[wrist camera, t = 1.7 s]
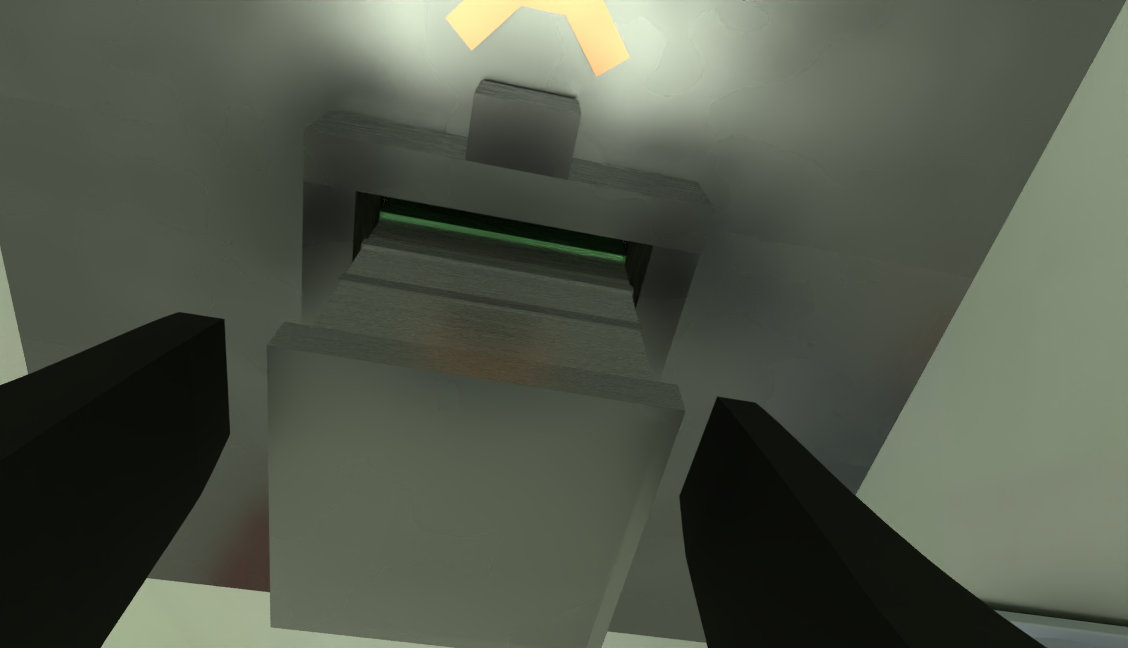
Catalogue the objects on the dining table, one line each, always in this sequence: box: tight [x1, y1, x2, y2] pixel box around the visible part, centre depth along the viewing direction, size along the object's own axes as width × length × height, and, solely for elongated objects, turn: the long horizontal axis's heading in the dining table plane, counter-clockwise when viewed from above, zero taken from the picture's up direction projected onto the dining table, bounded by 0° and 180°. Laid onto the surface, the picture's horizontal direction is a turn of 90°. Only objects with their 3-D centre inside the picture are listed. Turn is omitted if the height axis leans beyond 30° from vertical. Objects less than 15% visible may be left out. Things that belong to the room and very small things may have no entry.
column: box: [267, 197, 686, 648], centre depth 11 cm, size 4×4×6 cm
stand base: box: [0, 0, 1126, 643], centre depth 13 cm, size 18×18×2 cm
